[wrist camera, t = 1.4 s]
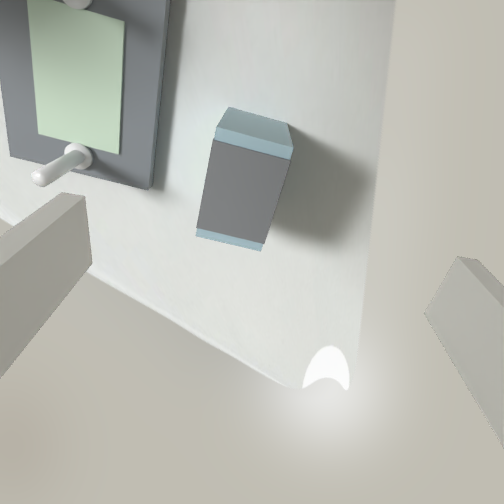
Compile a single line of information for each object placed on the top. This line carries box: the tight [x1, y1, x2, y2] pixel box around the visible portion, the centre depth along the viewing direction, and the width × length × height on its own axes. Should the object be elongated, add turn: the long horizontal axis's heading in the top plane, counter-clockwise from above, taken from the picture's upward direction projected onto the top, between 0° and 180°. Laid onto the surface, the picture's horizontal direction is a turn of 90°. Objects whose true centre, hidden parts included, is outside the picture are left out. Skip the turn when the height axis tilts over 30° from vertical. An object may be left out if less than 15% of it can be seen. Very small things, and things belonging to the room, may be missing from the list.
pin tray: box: [0, 0, 171, 190], centre depth 24 cm, size 12×15×7 cm
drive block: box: [196, 107, 294, 251], centre depth 26 cm, size 5×8×8 cm, turn 166°
